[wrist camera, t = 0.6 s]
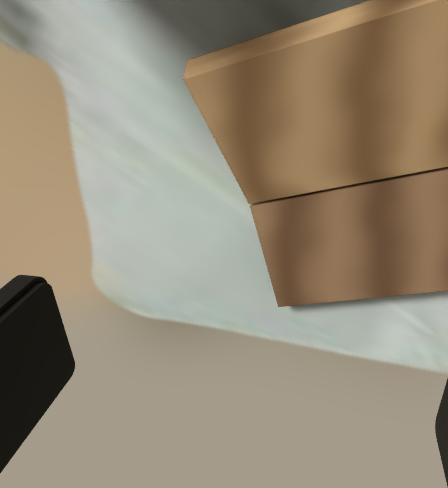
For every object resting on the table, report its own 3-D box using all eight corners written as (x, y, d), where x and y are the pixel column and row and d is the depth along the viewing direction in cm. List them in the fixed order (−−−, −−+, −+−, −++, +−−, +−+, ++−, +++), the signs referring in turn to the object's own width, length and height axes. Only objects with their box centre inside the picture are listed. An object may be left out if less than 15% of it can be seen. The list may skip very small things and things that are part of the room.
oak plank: (602, -77, 18) (621, -58, 17) (538, 128, 27) (548, 147, 26) (186, 60, 24) (183, 79, 23) (249, 186, 34) (249, 203, 33)
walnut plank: (534, 143, 28) (546, 151, 26) (531, 268, 32) (542, 281, 30) (254, 197, 35) (250, 206, 33) (280, 294, 39) (278, 306, 37)
